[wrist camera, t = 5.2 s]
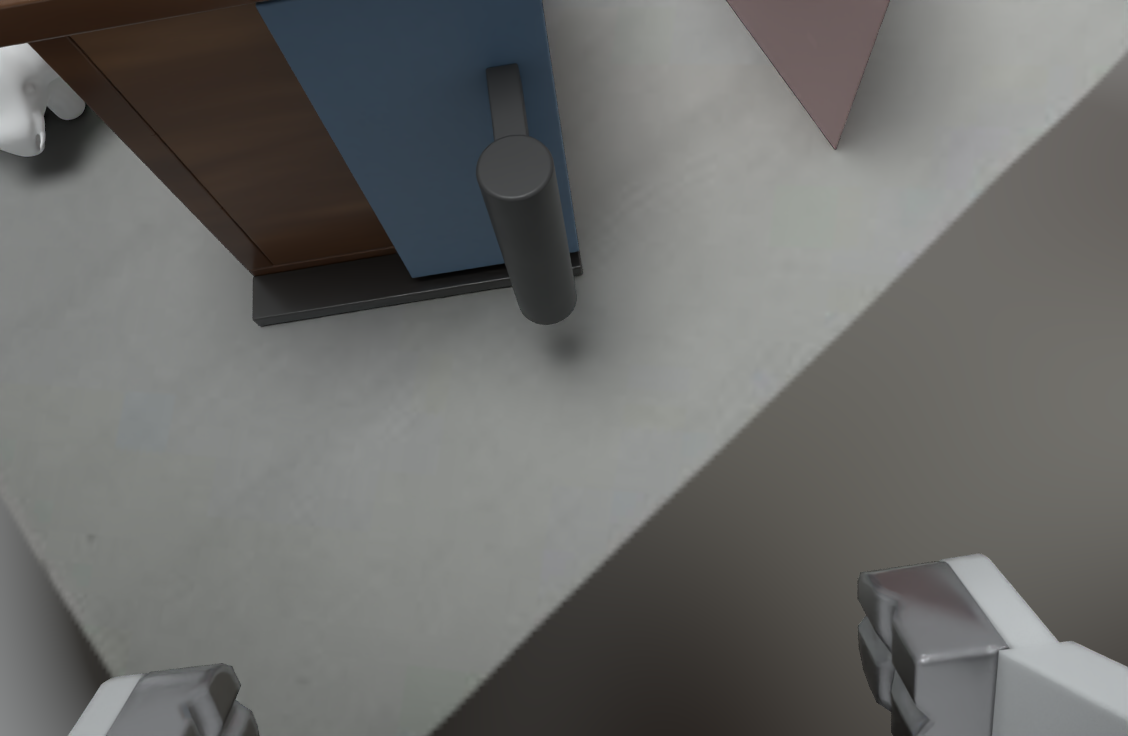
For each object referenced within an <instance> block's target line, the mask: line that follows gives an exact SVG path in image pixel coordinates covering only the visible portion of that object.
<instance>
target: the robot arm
mask: <svg viewBox="0 0 1128 736" xmlns="http://www.w3.org/2000/svg"><path fill="white" fill-rule="evenodd" d="M858 600H859V602H860V603H861V606H862V608H863V609H864V611H865V613H866V616H865V617H864V619H863V620H862V622H861V623H860V624H859V625H858V640H859V650H860V655H861V660H862V665H863V670H864V673H865V676H866V678H867V681H868V684H869V687H870V689H871V691H872V693H873V695H874V697H875V699H876V702H877V703H878V704H880V705H882V706H883V707H885V708H886V709H888V710H889V711H891V732H892V734H893V736H1128V667H1126V666H1124V665H1122V664H1120V663H1118V662H1116V661H1114V660H1112V659H1110V658H1107V657H1105V656H1103V655H1101V654H1099V653H1097V652H1095V651H1093V650H1090V649H1088V648H1086V647H1084V646H1082V645H1080V644H1078V643H1076V642H1073V641H1067V642H1059V641H1058V640H1057V639H1056V638H1055V637H1054V635H1053V634H1052V633H1051V632H1050V630H1049V629H1048V628H1047V627H1046V626H1045V624H1044V623H1043V622H1042V621H1041V620H1040V619H1039V617H1038V616H1037V615H1036V614H1035V613H1034V612H1033V610H1032V609H1031V608H1030V607H1029V606H1028V604H1027V603H1026V602H1025V601H1024V599H1023V598H1022V597H1021V596H1020V595H1019V594H1018V592H1017V591H1016V590H1015V589H1014V587H1013V586H1012V585H1011V584H1010V583H1009V582H1008V580H1007V579H1006V578H1005V577H1004V576H1003V574H1002V573H1001V572H1000V571H999V569H998V568H997V567H996V566H995V565H994V563H993V562H992V561H991V560H990V559H989V557H987V556H985V555H983V554H981V553H978V554H972V555H966V556H960V557H954V558H947V559H941V560H940V561H934V562H927V563H921V564H914V565H907V566H901V567H894V568H888V569H880V570H874V571H867V572H861V573H860V575H859V579H858ZM240 687H241V684H240V682H239V680H238V678H237V676H236V674H235V671H234V669H233V667H232V666H230V665H226V664H223V663H221V664H212V665H204V666H195V667H187V668H178V669H170V670H162V671H153V672H149V673H142V674H134V675H125V676H117V677H112V678H111V679H109V680H108V681H106V682H104V683H103V684H102V685H101V686H100V687H99V689H98V690H97V692H96V694H95V695H94V697H93V698H92V700H91V701H90V703H89V704H88V706H87V707H86V709H85V710H84V712H83V713H82V715H81V716H80V718H79V720H78V721H77V723H76V724H75V726H74V727H73V729H72V730H71V732H70V733H69V735H68V736H259V731H258V725H257V723H256V720H255V718H254V715H253V713H252V711H251V710H250V709H248V708H247V707H245V706H244V705H242V704H241V703H239V702H238V701H236V700H235V699H236V696H237V694H238V692H239V689H240Z"/></svg>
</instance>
